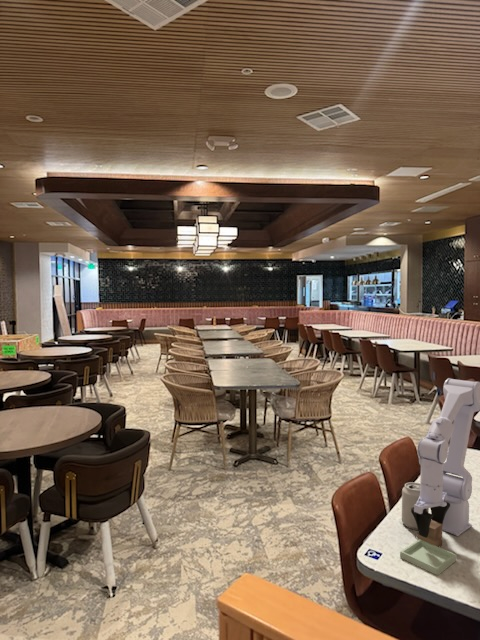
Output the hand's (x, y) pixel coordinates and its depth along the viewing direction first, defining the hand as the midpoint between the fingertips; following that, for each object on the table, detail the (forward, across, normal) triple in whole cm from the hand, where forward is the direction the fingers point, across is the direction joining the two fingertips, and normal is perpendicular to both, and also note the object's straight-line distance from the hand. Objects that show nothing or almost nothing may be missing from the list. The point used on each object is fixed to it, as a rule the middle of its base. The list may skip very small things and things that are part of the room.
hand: (430, 531), depth 125 cm
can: (+4, +7, +8) cm, 12 cm away
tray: (+4, -7, -3) cm, 9 cm away
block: (+4, 0, 0) cm, 4 cm away
